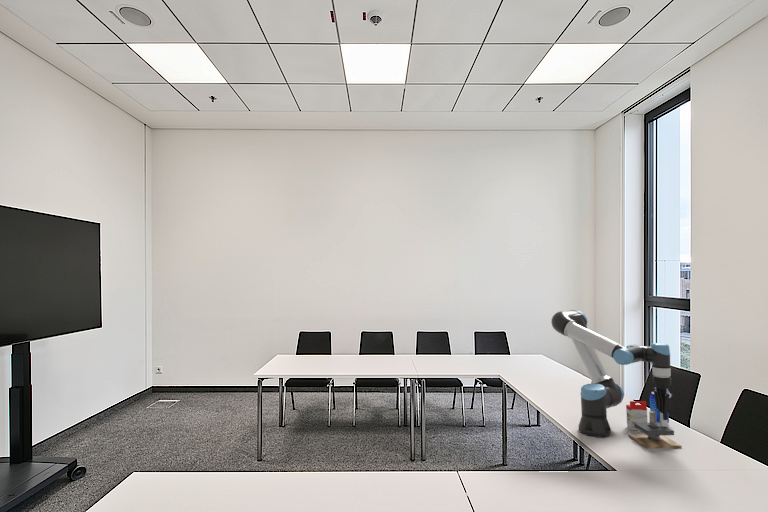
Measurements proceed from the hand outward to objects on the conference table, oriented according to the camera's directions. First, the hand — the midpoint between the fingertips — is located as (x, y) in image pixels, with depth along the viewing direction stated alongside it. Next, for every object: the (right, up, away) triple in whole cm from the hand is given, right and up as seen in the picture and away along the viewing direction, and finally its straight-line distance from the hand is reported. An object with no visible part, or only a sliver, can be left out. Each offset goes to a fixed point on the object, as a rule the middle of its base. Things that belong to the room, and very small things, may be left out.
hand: (664, 426), depth 217 cm
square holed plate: (-5, -2, 0) cm, 5 cm away
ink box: (-2, -9, +19) cm, 21 cm away
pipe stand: (-5, -8, 0) cm, 9 cm away
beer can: (+14, -9, +26) cm, 31 cm away
